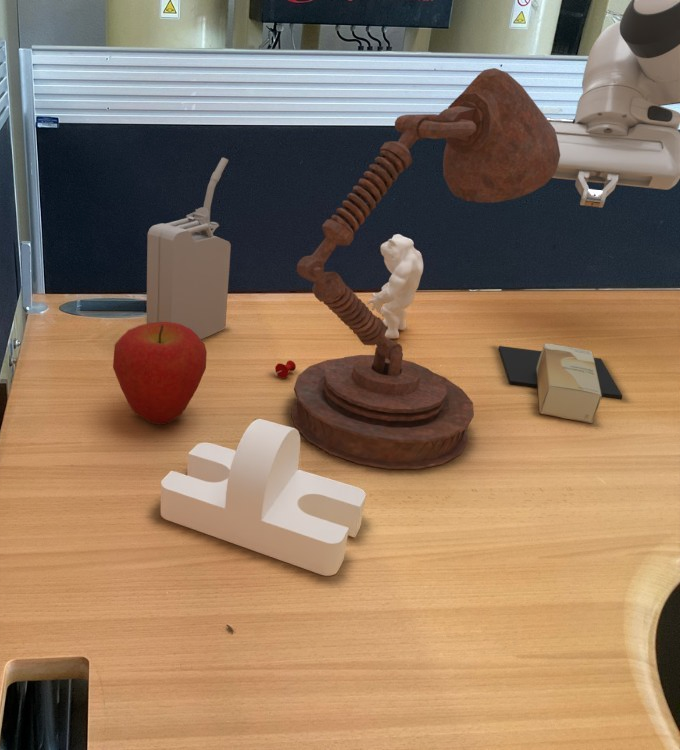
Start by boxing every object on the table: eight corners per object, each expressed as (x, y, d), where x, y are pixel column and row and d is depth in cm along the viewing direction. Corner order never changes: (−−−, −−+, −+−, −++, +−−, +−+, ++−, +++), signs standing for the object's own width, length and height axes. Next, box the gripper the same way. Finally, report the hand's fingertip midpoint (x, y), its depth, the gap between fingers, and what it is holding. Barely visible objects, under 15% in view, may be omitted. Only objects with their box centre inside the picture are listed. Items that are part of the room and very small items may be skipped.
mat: (599, 361, 110) (600, 358, 110) (621, 398, 100) (622, 395, 100) (498, 348, 113) (499, 345, 113) (509, 383, 103) (510, 380, 103)
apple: (134, 389, 98) (135, 301, 92) (214, 405, 95) (219, 315, 89) (98, 430, 88) (96, 335, 83) (185, 449, 85) (189, 351, 80)
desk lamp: (546, 429, 92) (649, 77, 74) (342, 499, 78) (408, 82, 60) (420, 361, 108) (479, 59, 90) (231, 408, 94) (257, 60, 76)
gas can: (211, 315, 121) (219, 155, 110) (235, 324, 118) (247, 160, 107) (144, 342, 111) (146, 169, 100) (169, 353, 108) (175, 175, 97)
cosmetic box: (593, 350, 101) (605, 394, 91) (583, 378, 104) (594, 424, 94) (541, 341, 103) (548, 384, 93) (533, 369, 105) (539, 414, 95)
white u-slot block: (333, 579, 67) (349, 483, 62) (156, 516, 74) (158, 426, 70) (363, 520, 75) (378, 431, 70) (199, 468, 82) (204, 384, 77)
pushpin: (279, 383, 101) (281, 370, 100) (267, 378, 102) (268, 365, 101) (296, 374, 103) (298, 361, 102) (284, 369, 104) (285, 356, 104)
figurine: (400, 349, 112) (418, 251, 105) (357, 339, 115) (371, 243, 108) (418, 326, 120) (436, 233, 113) (377, 317, 123) (392, 226, 116)
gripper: (533, 102, 111) (515, 182, 107) (694, 114, 104) (681, 200, 100) (527, 130, 117) (510, 207, 113) (679, 143, 109) (666, 225, 106)
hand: (592, 204), depth 106 cm, fingers closed
